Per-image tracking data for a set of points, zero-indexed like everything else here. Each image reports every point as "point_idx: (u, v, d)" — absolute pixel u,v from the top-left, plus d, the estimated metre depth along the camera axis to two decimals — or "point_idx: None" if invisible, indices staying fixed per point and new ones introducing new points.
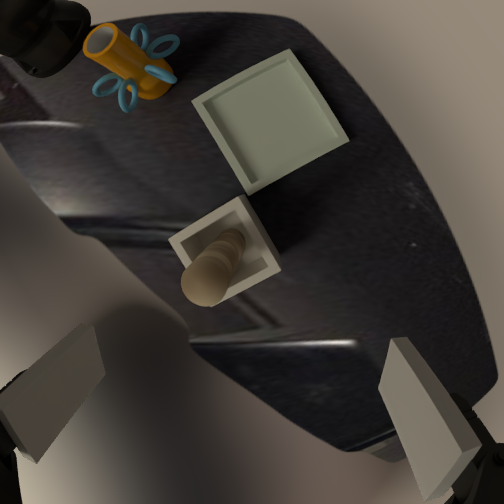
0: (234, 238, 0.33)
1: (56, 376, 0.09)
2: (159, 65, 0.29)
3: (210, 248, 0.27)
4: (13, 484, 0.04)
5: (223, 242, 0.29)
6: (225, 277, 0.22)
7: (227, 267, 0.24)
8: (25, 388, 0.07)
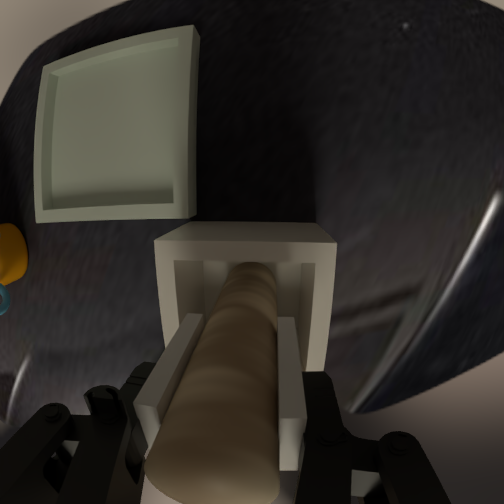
0: (231, 287, 0.16)
1: (185, 365, 0.10)
2: None
3: None
4: (136, 497, 0.06)
5: (207, 324, 0.13)
6: (219, 448, 0.06)
7: (218, 398, 0.07)
8: (169, 380, 0.09)
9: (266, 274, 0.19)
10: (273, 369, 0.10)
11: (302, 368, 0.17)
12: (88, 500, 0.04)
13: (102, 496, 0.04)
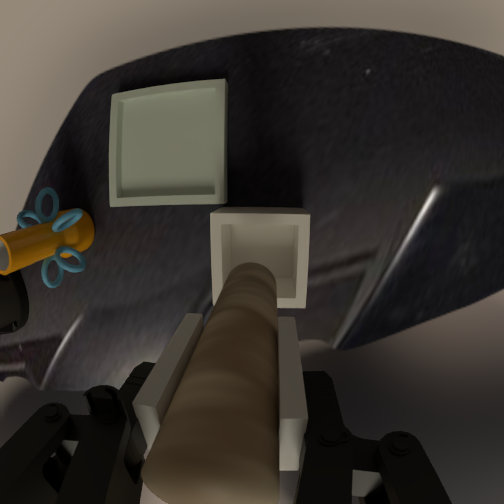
0: (230, 289, 0.16)
1: (184, 365, 0.10)
2: None
3: None
4: (135, 497, 0.06)
5: (206, 326, 0.13)
6: (217, 456, 0.05)
7: (216, 404, 0.07)
8: (168, 380, 0.09)
9: (266, 275, 0.19)
10: (273, 373, 0.10)
11: (294, 293, 0.29)
12: (87, 500, 0.04)
13: (101, 496, 0.04)
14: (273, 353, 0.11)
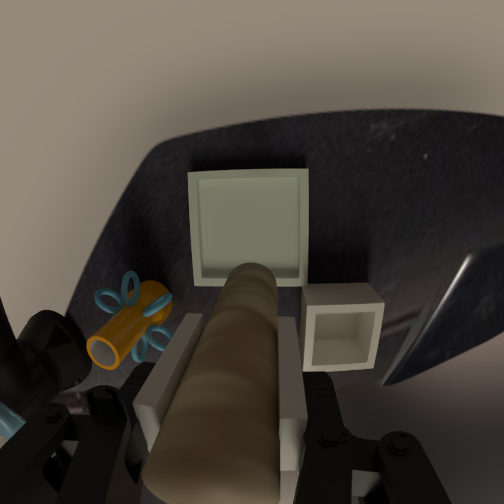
0: (231, 289, 0.16)
1: (184, 365, 0.10)
2: (146, 297, 0.35)
3: (184, 374, 0.10)
4: (135, 497, 0.06)
5: (207, 327, 0.13)
6: (218, 457, 0.05)
7: (217, 405, 0.07)
8: (168, 380, 0.09)
9: (266, 275, 0.19)
10: (274, 373, 0.10)
11: (364, 357, 0.34)
12: (88, 500, 0.04)
13: (102, 496, 0.04)
14: (274, 353, 0.11)
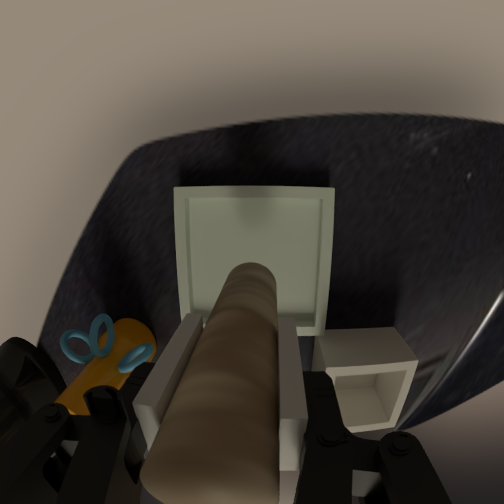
0: (230, 289, 0.16)
1: (184, 365, 0.10)
2: (122, 344, 0.26)
3: None
4: (135, 497, 0.06)
5: (206, 327, 0.12)
6: (217, 458, 0.05)
7: (216, 406, 0.07)
8: (168, 380, 0.09)
9: (266, 275, 0.19)
10: (273, 374, 0.10)
11: (385, 414, 0.26)
12: (87, 500, 0.04)
13: (101, 496, 0.04)
14: (273, 354, 0.11)
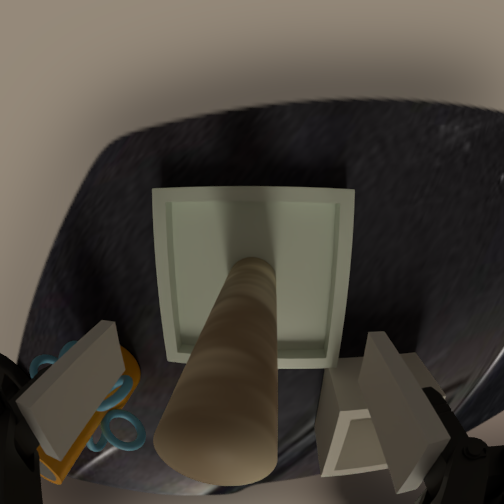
0: (233, 280, 0.17)
1: (80, 372, 0.09)
2: None
3: None
4: (35, 484, 0.05)
5: (211, 313, 0.14)
6: (223, 415, 0.07)
7: (222, 374, 0.08)
8: (51, 384, 0.07)
9: (266, 269, 0.20)
10: (272, 352, 0.11)
11: None
12: None
13: (0, 475, 0.03)
14: (272, 335, 0.12)
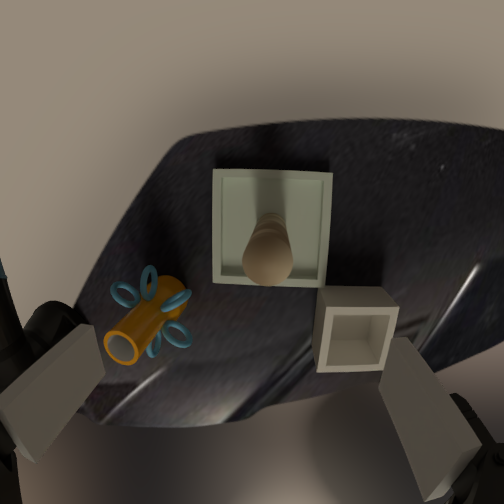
0: (263, 218, 0.31)
1: (56, 376, 0.09)
2: (163, 292, 0.35)
3: None
4: (14, 483, 0.04)
5: (256, 227, 0.28)
6: (273, 237, 0.21)
7: (270, 232, 0.22)
8: (25, 388, 0.07)
9: (280, 217, 0.34)
10: (287, 237, 0.25)
11: (375, 359, 0.34)
12: None
13: None
14: (287, 235, 0.26)
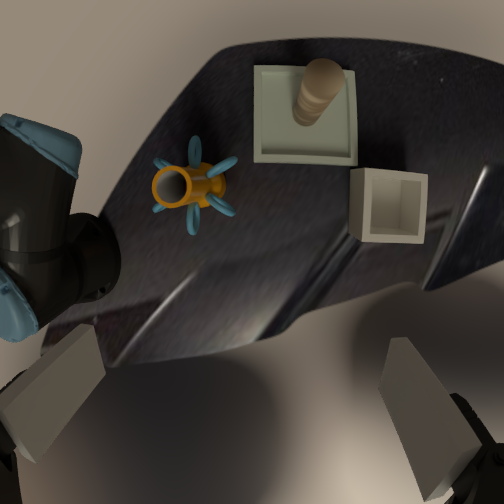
0: None
1: (56, 376, 0.09)
2: (206, 166, 0.36)
3: None
4: (14, 484, 0.04)
5: None
6: (327, 59, 0.22)
7: None
8: (25, 388, 0.07)
9: None
10: None
11: (413, 234, 0.35)
12: None
13: None
14: None
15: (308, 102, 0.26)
